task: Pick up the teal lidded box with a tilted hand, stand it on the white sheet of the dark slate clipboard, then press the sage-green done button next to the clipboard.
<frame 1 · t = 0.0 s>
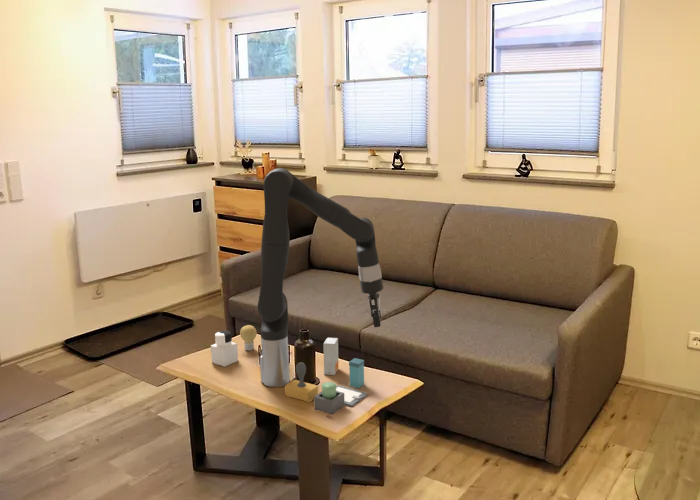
hand: (377, 322, 224), 22 cm above the table, tool pointing down, fingers open, 8 cm apart
clipboard: (344, 396, 220), on the table
teal lidded box: (357, 385, 228), on the table
done button: (329, 391, 211), point 6 cm above the table, slide at 0.0 cm
skincare box: (331, 371, 239), on the table
rubber stamp: (301, 396, 221), on the table
medicine bottle: (225, 362, 250), on the table
light bulb: (249, 349, 261), on the table
button housing: (329, 407, 212), on the table
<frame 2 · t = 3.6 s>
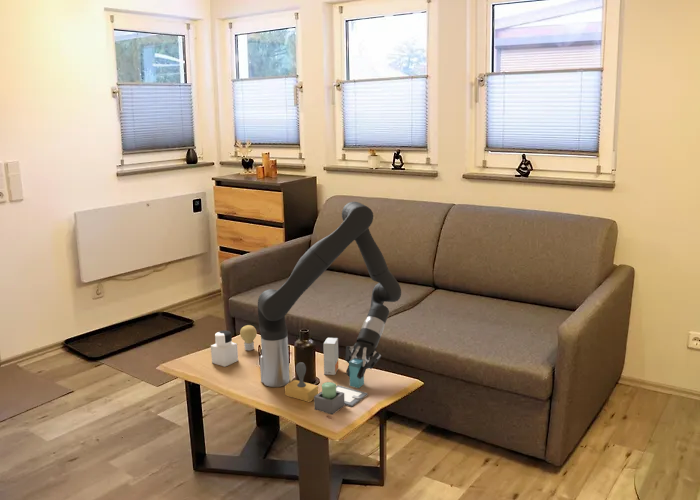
hand: (353, 376, 225), 4 cm above the table, tool tilted 45°, fingers closed on teal lidded box, 3 cm apart
teal lidded box: (356, 385, 228), on the table, touching gripper
everything else where it was.
when the fingers open (6 cm above the table, at t = 7.7 s): teal lidded box stays where it is, resting on clipboard.
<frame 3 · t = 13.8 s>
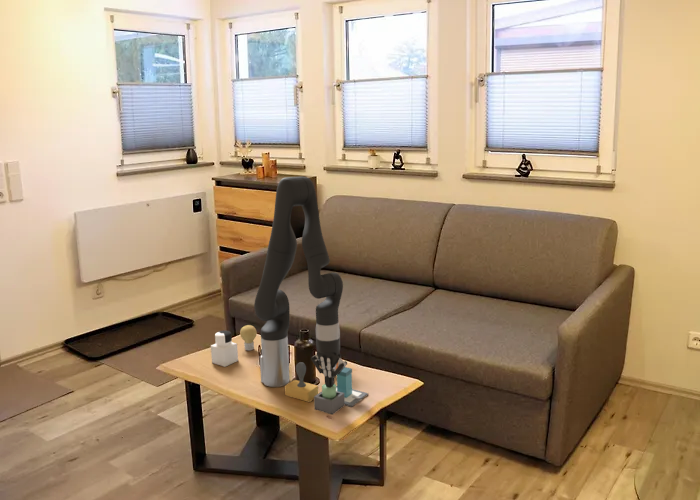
hand: (329, 386, 210), 7 cm above the table, tool pointing down, fingers closed
teal lidded box: (344, 394, 220), point 1 cm above the table, touching clipboard
done button: (329, 392, 211), point 5 cm above the table, slide at 0.4 cm, touching gripper
everything else where it was.
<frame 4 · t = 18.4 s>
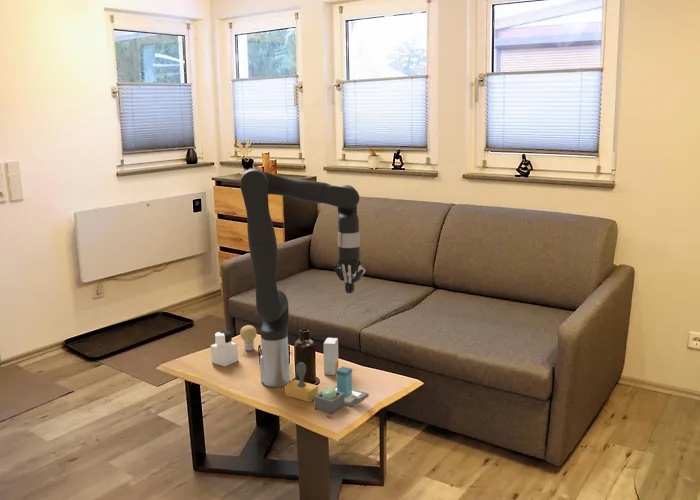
hand: (349, 292, 229), 31 cm above the table, tool pointing down, fingers closed
done button: (329, 397, 211), point 4 cm above the table, slide at 2.2 cm
everything else where it was.
at the end: teal lidded box inside the target area on the clipboard (0.1 cm from its centre), point 0.7 cm above the clipboard's base; teal lidded box tilted 0°; done button slide at 2.2 cm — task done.
